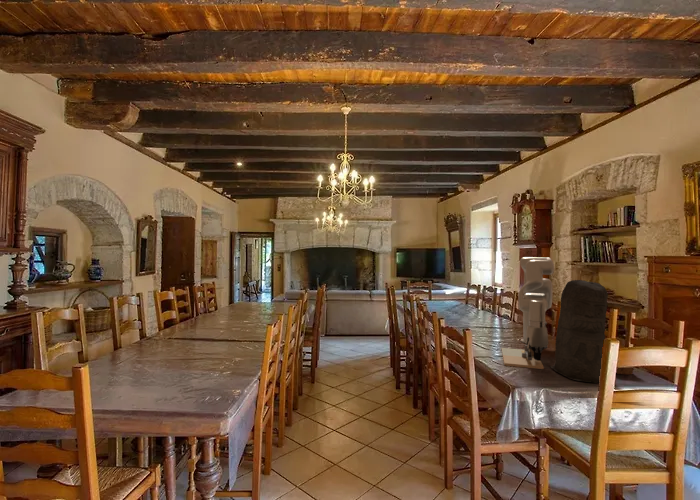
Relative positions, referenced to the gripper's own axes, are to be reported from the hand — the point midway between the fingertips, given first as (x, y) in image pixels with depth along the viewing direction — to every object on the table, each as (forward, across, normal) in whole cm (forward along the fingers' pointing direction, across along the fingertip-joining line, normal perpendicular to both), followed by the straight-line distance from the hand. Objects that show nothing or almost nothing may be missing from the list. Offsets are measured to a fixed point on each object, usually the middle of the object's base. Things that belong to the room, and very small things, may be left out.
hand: (537, 359), depth 192 cm
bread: (+3, -32, +12) cm, 34 cm away
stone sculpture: (+3, -8, +20) cm, 22 cm away
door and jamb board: (+2, +2, -11) cm, 12 cm away
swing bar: (-1, +4, -2) cm, 4 cm away
